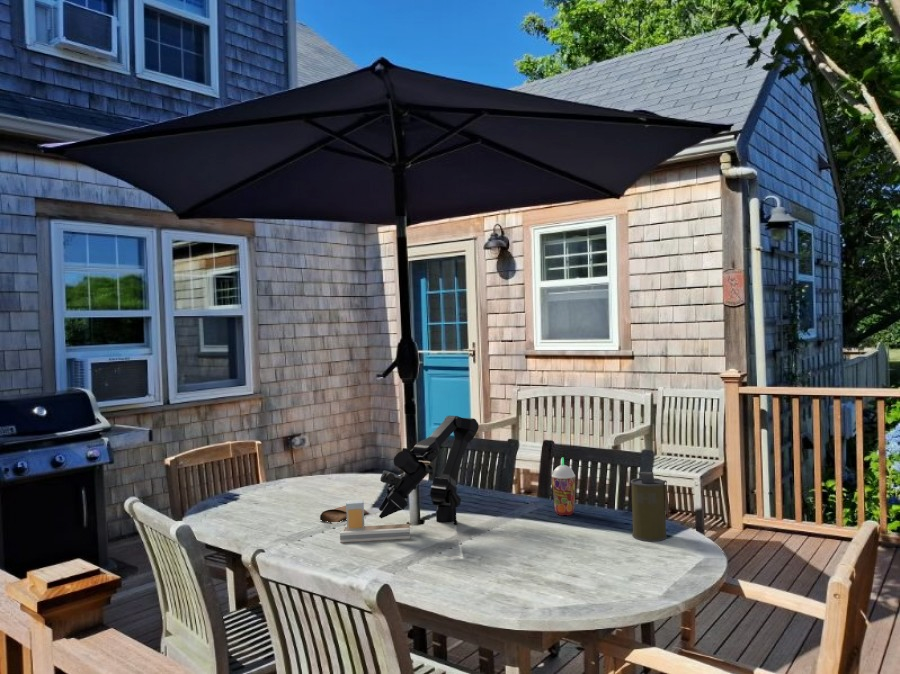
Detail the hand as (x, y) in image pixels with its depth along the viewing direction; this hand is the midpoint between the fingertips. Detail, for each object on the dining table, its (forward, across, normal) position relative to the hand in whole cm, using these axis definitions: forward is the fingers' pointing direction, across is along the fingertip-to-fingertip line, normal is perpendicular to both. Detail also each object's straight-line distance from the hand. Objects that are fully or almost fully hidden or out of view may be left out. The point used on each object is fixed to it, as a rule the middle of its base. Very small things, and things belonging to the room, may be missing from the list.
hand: (379, 513), depth 238 cm
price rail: (+6, +6, +3) cm, 9 cm away
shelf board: (+6, -1, +4) cm, 8 cm away
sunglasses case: (+14, -28, -3) cm, 31 cm away
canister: (-54, +20, +65) cm, 86 cm away
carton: (+10, 0, -1) cm, 10 cm away
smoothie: (-40, -13, +52) cm, 67 cm away
